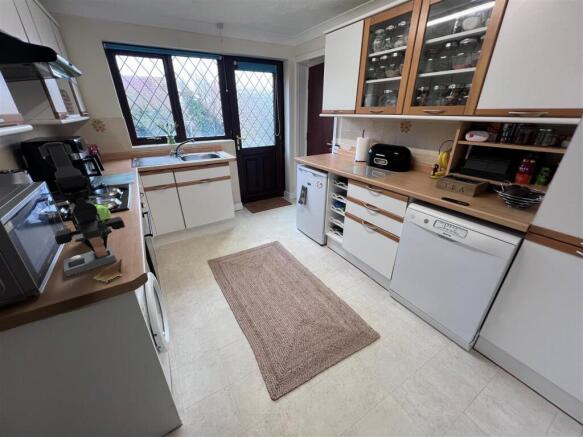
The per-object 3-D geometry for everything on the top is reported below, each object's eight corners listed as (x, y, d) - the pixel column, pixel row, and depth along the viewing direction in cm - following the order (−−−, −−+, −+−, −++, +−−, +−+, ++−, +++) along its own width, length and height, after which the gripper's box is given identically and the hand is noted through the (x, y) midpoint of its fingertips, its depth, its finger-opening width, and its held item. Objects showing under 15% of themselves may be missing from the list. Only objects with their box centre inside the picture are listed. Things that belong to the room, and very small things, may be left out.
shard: (122, 262, 89) (121, 258, 88) (139, 265, 87) (137, 261, 86) (93, 280, 79) (91, 276, 78) (111, 284, 77) (109, 280, 76)
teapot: (116, 220, 120) (110, 204, 117) (87, 227, 113) (80, 211, 110) (112, 213, 128) (106, 199, 124) (85, 220, 121) (78, 205, 117)
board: (67, 265, 86) (60, 252, 84) (113, 250, 95) (108, 238, 92) (67, 277, 80) (60, 263, 78) (116, 260, 88) (111, 248, 86)
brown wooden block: (97, 254, 88) (88, 235, 84) (106, 251, 90) (99, 232, 86) (97, 257, 86) (89, 238, 82) (107, 254, 87) (100, 236, 84)
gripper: (45, 228, 69) (67, 271, 76) (120, 210, 80) (134, 249, 87) (46, 216, 77) (66, 256, 83) (115, 201, 88) (128, 238, 94)
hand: (100, 250), depth 87 cm, fingers closed on brown wooden block, 3 cm apart
